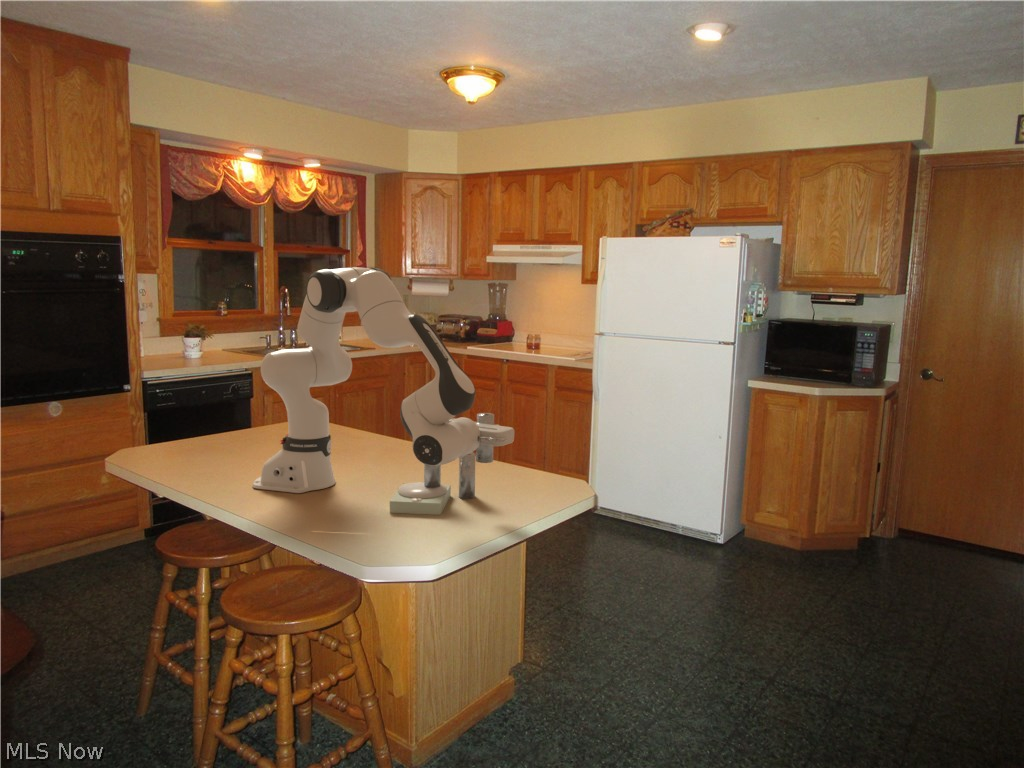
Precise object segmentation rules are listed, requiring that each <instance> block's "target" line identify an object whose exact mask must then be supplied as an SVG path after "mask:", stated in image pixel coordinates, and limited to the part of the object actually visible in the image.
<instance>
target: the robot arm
mask: <svg viewBox="0 0 1024 768" xmlns="http://www.w3.org/2000/svg"><path fill="white" fill-rule="evenodd" d="M305 290H306V295H305V298H304V300H303V305H302V309H301V312H300V316H299V319H298V322H297V323H298V324H297V326H296V327H297V333H298V335H299V337H300V339H301V340H302V341H303V342H304V343H306V344H307V345H308V347H302V348H301V347H300V348H299V347H298V348H283V349H279V350H275V351H272V352H269V353H267V354H266V355H265V356H264V357H263V359H262V360H261V365H260V375H261V378H262V381H264V383H265V384H266V385H267V386H268V387H269V388H271V389H272V390H273V391H275V392H276V393H277V394H278V395H279V397H280V398H281V399H282V401H283V403H284V406H285V409H286V414H287V425H288V426H287V427H288V433H287V434H285V436H284V437H283V438H282V439H281V440H280V443H279V444H280V445H282V448H281V449H280V450H279V451H277V452H276V453H275V454H273V455H272V456H270V457H269V459H267V460H266V461H265V462H264V463H263V465H262V467H261V468H262V469H261V474H260V476H259V477H257V478H256V479H255V480H253V483H252V487H253V489H256V490H257V489H258V490H264V491H266V490H267V491H274V492H275V491H277V492H284V493H293V494H302V493H306V492H307V493H308V492H310V491H317V490H323V489H326V488H327V489H328V488H329V487H332V486H334V485H335V484H336V483H337V482H336V479H335V475H334V471H333V466H332V465H333V464H332V461H331V454H332V439H331V438H332V437H331V434H330V416H329V415H330V413H329V412H330V411H329V409H328V406H327V405H326V404H325V403H323V402H322V401H320V400H318V399H316V398H314V397H313V396H312V394H311V392H310V389H311V388H314V387H327V386H333V385H337V384H340V383H343V382H346V381H347V380H348V379H349V378H350V376H351V374H352V371H353V361H352V358H351V355H350V354H349V353H348V352H347V350H345V349H344V348H343V347H342V346H341V345H340V336H341V331H342V327H343V323H344V320H345V317H346V314H347V313H354V312H357V313H358V316H359V320H360V321H361V324H362V326H363V328H364V331H365V333H366V335H367V336H368V338H369V339H370V341H371V342H373V344H376V346H378V347H382V348H387V349H397V348H404V347H408V346H415V345H416V346H418V347H419V349H420V350H421V352H422V353H423V355H424V356H425V357H426V359H427V361H428V362H429V364H430V365H431V367H432V368H433V370H434V373H435V376H434V378H433V379H432V380H430V381H429V382H427V383H426V384H425V385H423V386H422V387H420V388H417V390H415V391H414V392H413V393H411V394H410V395H408V396H407V397H406V398H404V399H403V400H401V404H400V410H399V411H400V412H399V414H400V415H399V416H400V419H401V420H400V421H401V424H402V425H403V428H404V430H405V432H406V433H407V434H408V435H409V437H410V438H411V439H412V446H411V448H412V451H413V454H414V457H415V458H416V459H417V460H418V461H419V462H420V463H422V464H423V465H424V464H426V465H429V466H439V465H441V466H443V465H447V464H449V463H451V462H453V461H456V460H458V459H459V458H460V457H463V456H465V455H467V454H469V453H471V452H473V453H474V452H476V449H477V448H478V446H479V444H482V445H489V446H493V447H503V446H506V445H509V444H512V443H513V442H514V440H515V429H514V428H513V427H510V426H503V425H500V424H497V423H496V424H495V423H494V425H490V424H482V423H477V421H474V420H472V419H471V418H468V417H465V416H463V417H457V416H459V415H461V414H463V413H465V412H467V411H469V410H471V408H473V405H474V403H475V400H476V399H475V398H476V387H475V384H474V383H473V381H472V380H471V378H470V377H469V376H468V374H466V372H465V371H464V370H463V368H461V367H460V366H459V364H458V362H457V361H456V360H455V358H454V357H453V355H452V354H451V353H450V351H449V350H448V348H447V347H446V345H445V344H444V342H443V341H442V340H441V338H440V336H439V335H438V333H437V332H436V331H435V330H434V329H433V327H432V326H431V325H430V323H429V322H428V321H427V320H426V318H424V317H423V316H422V315H419V314H413V313H411V312H410V310H409V309H408V308H407V306H406V303H405V302H404V300H403V298H402V296H401V294H400V291H398V289H397V287H396V286H395V284H394V283H393V281H392V278H391V276H390V274H389V273H388V272H387V271H385V270H383V269H381V268H375V267H369V268H367V267H357V266H348V267H340V268H333V269H332V268H331V269H328V268H324V269H320V270H319V269H318V270H317V271H314V272H313V273H311V275H310V276H309V277H308V280H307V283H306V289H305ZM455 417H457V418H455Z"/></svg>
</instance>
